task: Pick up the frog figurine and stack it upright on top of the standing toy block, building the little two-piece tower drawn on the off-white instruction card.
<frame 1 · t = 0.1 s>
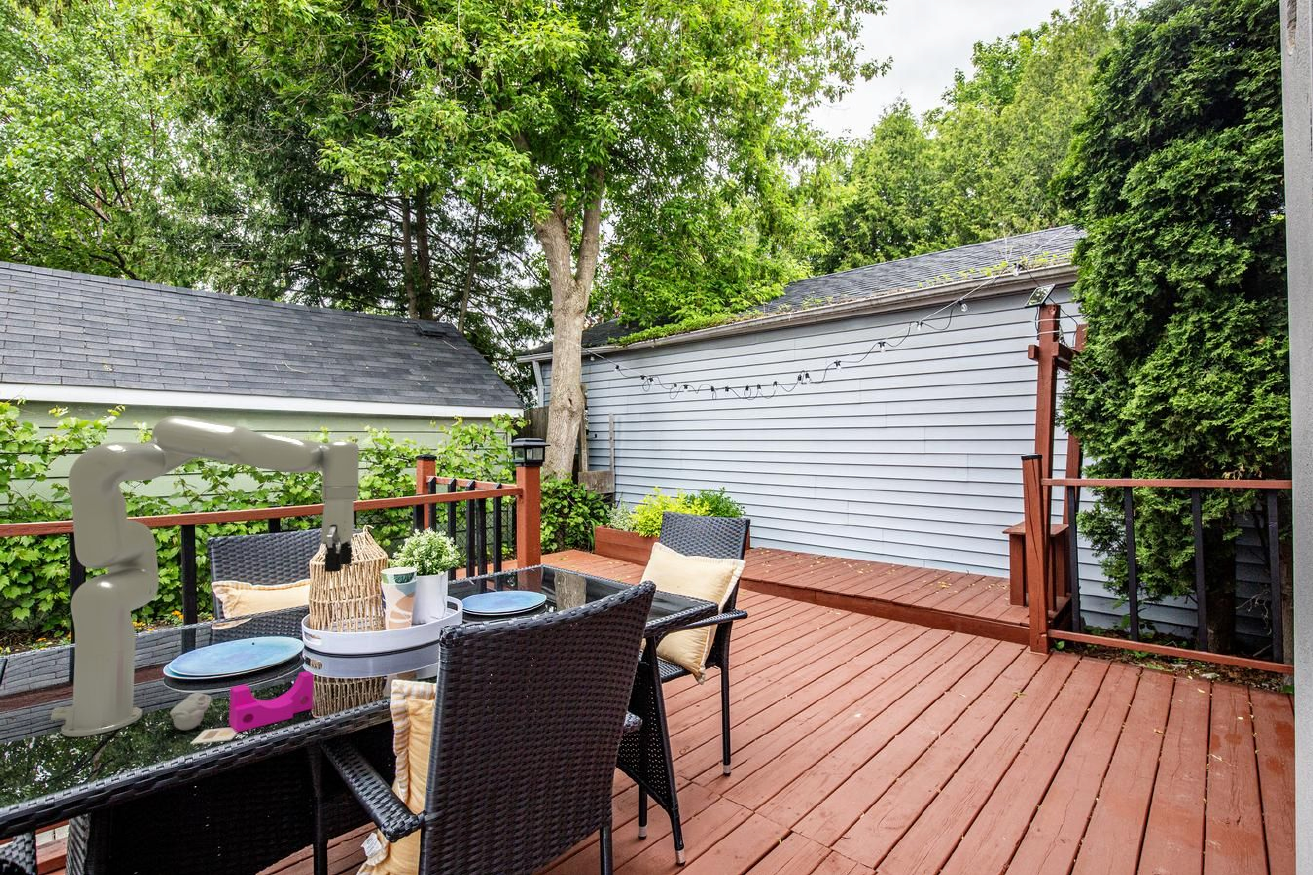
hand: (338, 567, 139), 31 cm above the table, tool pointing down, fingers open, 9 cm apart
toy block: (273, 718, 130), on the table, touching instruction card
instruction card: (217, 735, 122), on the table
frog figurine: (190, 729, 125), on the table
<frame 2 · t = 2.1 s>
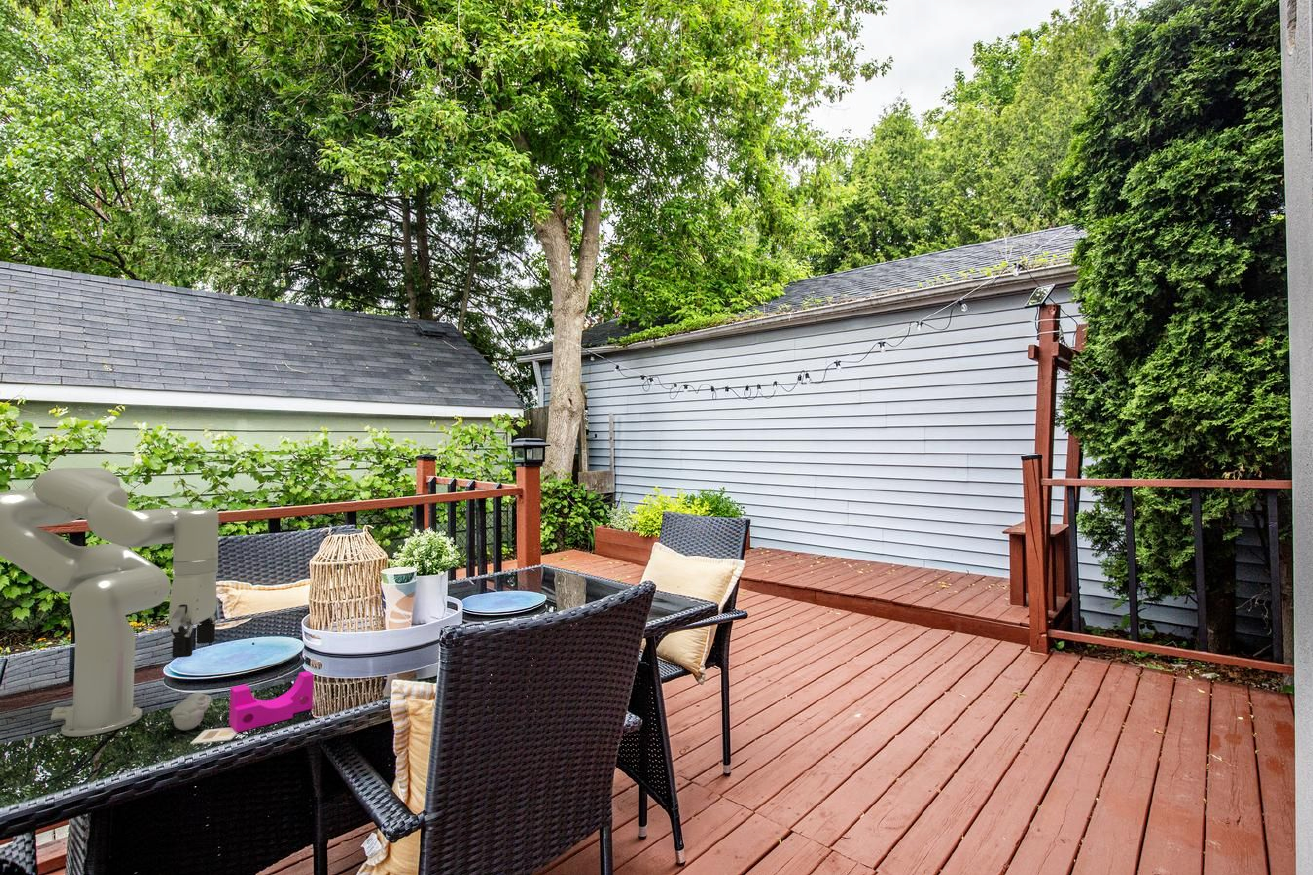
hand: (194, 649, 125), 16 cm above the table, tool pointing down, fingers open, 9 cm apart
nothing on the table moved.
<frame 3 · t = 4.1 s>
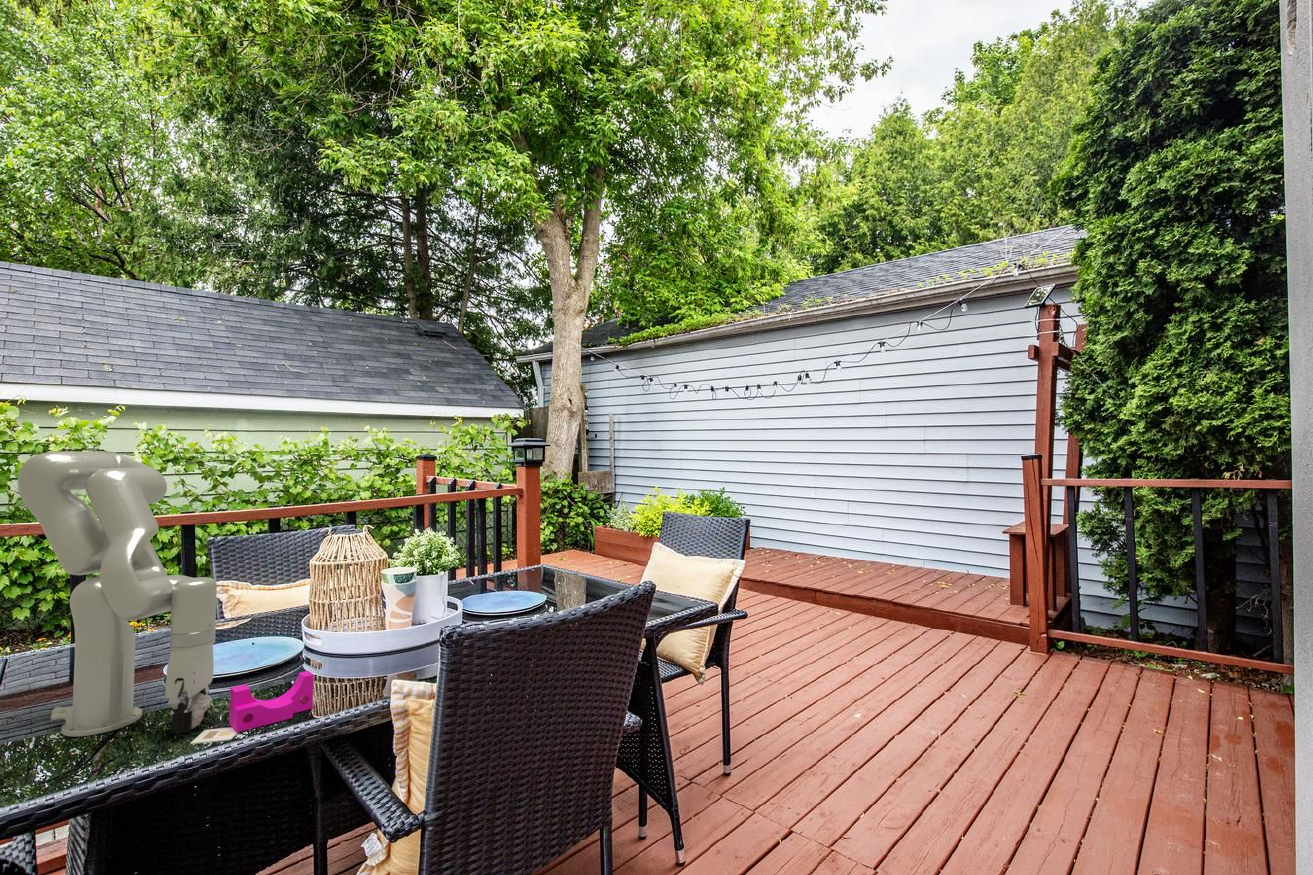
hand: (190, 723, 125), 1 cm above the table, tool pointing down, fingers closed on frog figurine, 6 cm apart
frog figurine: (190, 729, 125), on the table, touching gripper
everything else where it was.
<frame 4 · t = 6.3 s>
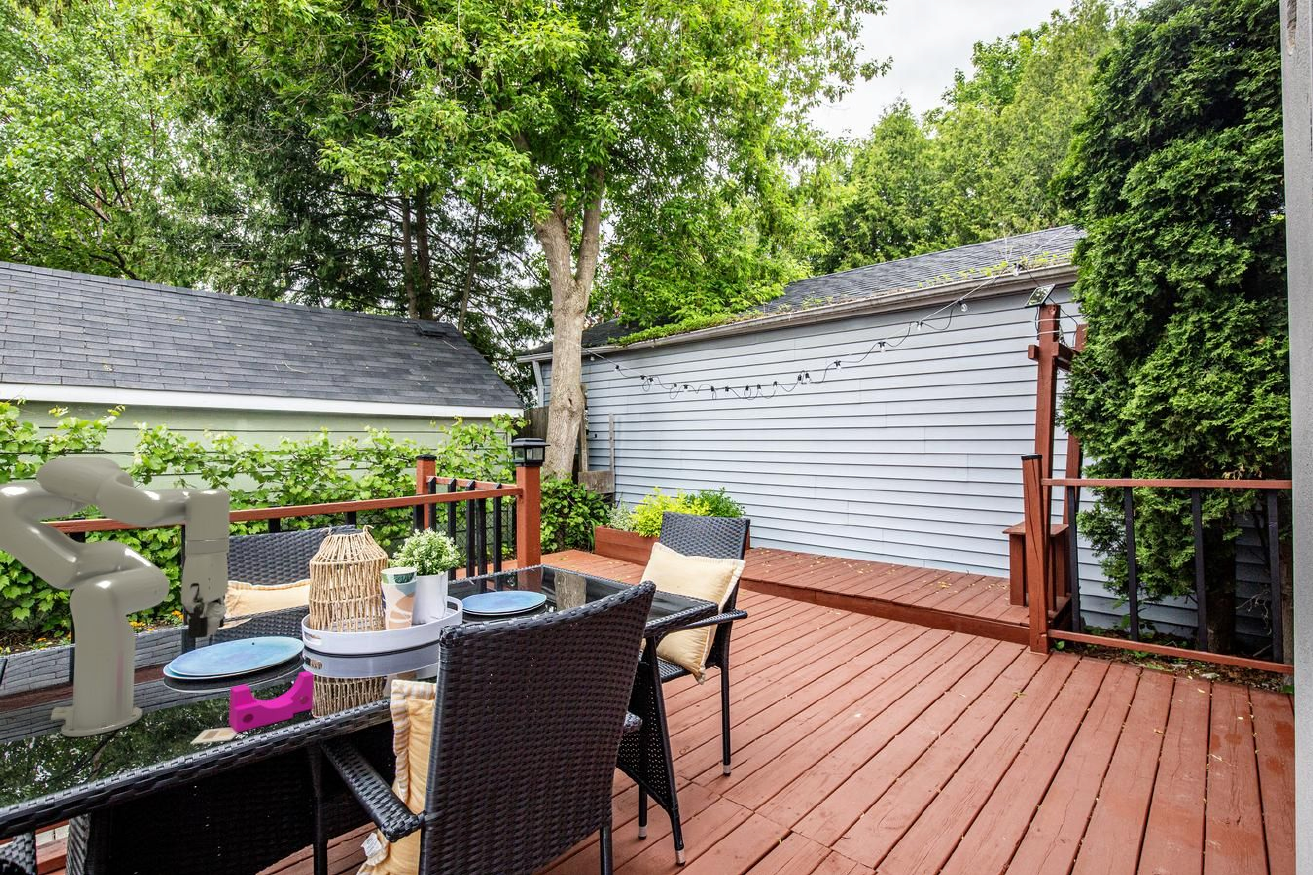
hand: (206, 631, 126), 20 cm above the table, tool pointing down, fingers closed on frog figurine, 6 cm apart
frog figurine: (206, 637, 126), point 19 cm above the table, touching gripper
everything else where it was.
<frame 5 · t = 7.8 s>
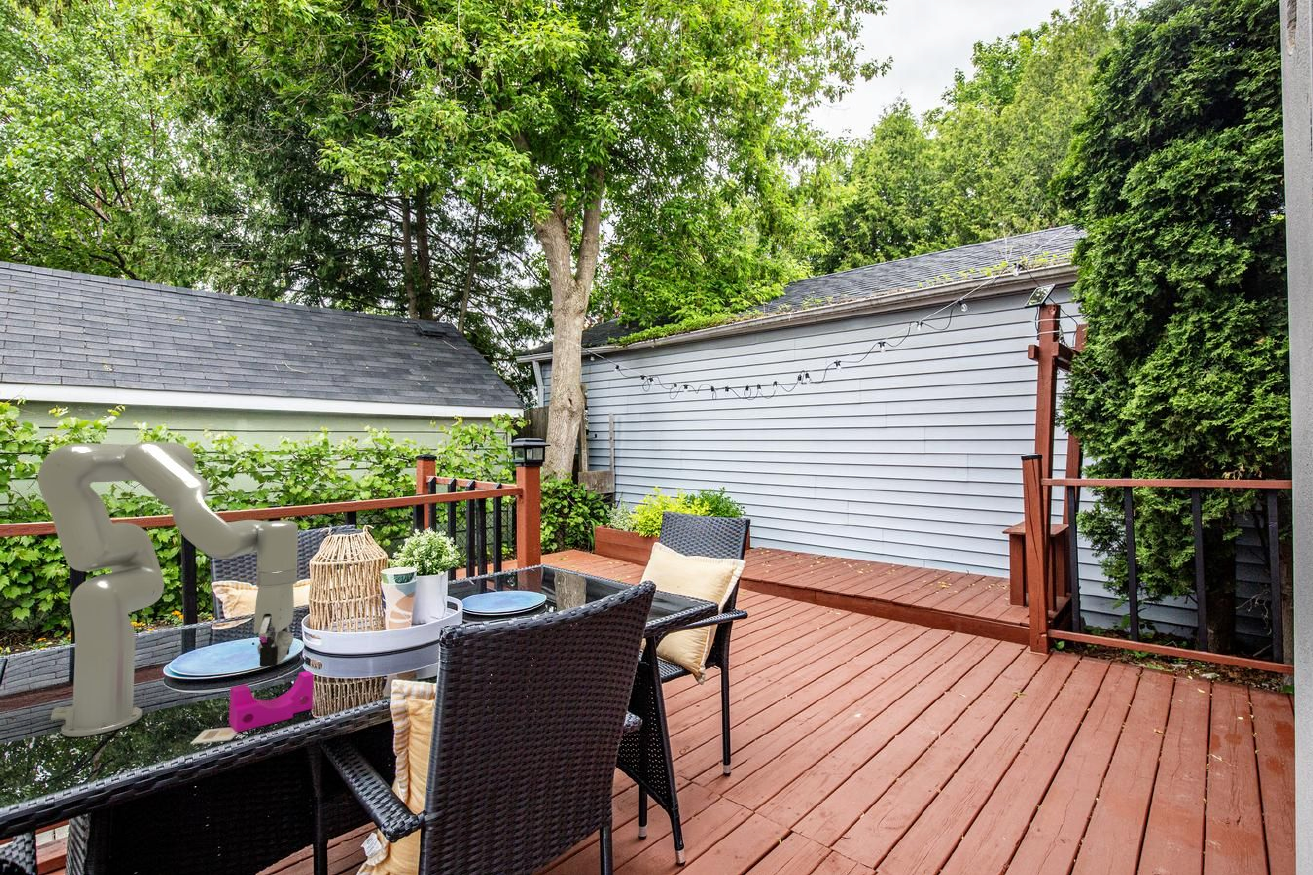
hand: (274, 659, 131), 13 cm above the table, tool pointing down, fingers closed on frog figurine, 6 cm apart
frog figurine: (274, 664, 131), point 11 cm above the table, touching gripper
everything else where it was.
when the fingers open (10 cm above the table, at t = 8.7 s): frog figurine drops 1 cm, resting on toy block.
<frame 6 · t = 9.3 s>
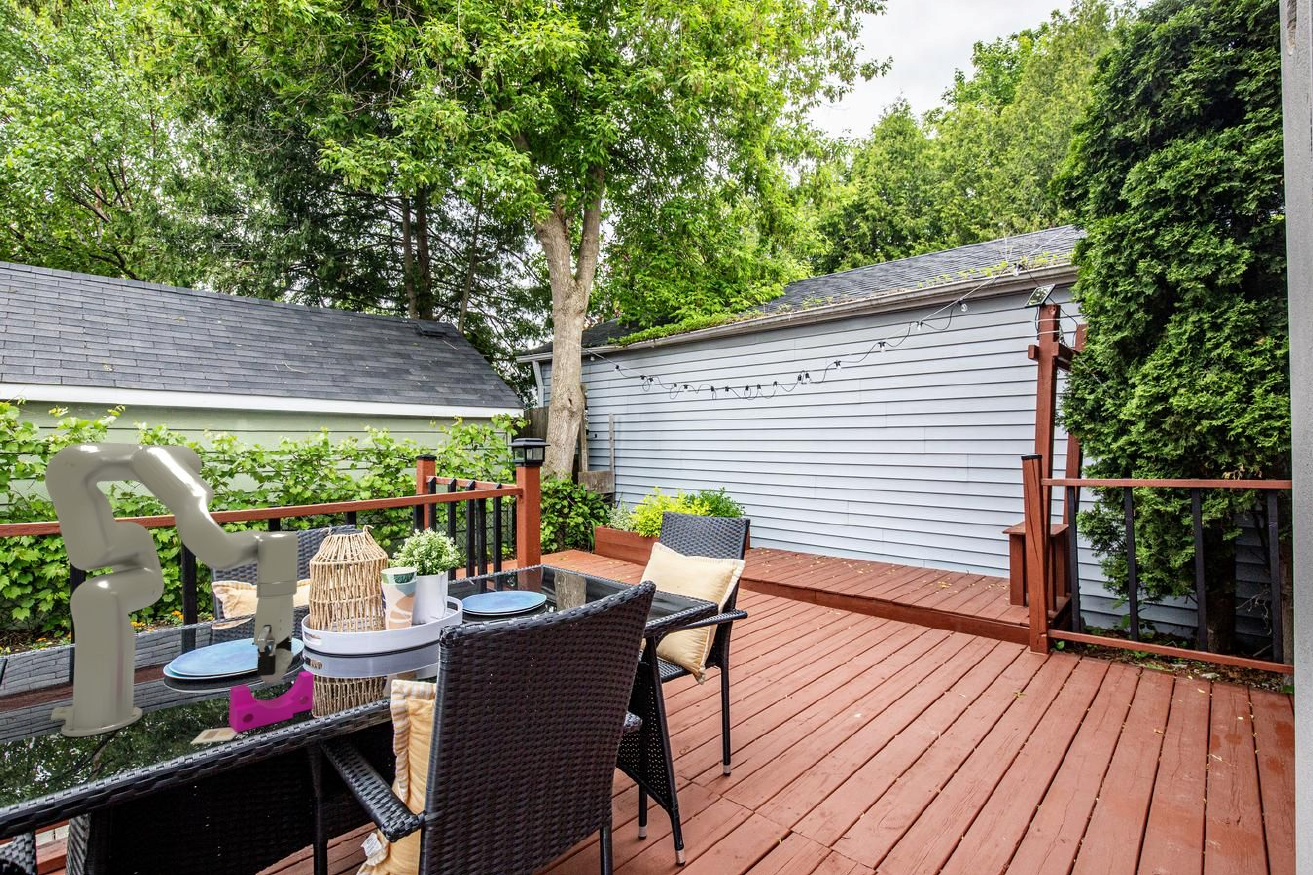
hand: (274, 667, 131), 11 cm above the table, tool pointing down, fingers open, 9 cm apart
toy block: (273, 718, 130), on the table, touching frog figurine, instruction card
frog figurine: (274, 683, 131), point 7 cm above the table, touching toy block
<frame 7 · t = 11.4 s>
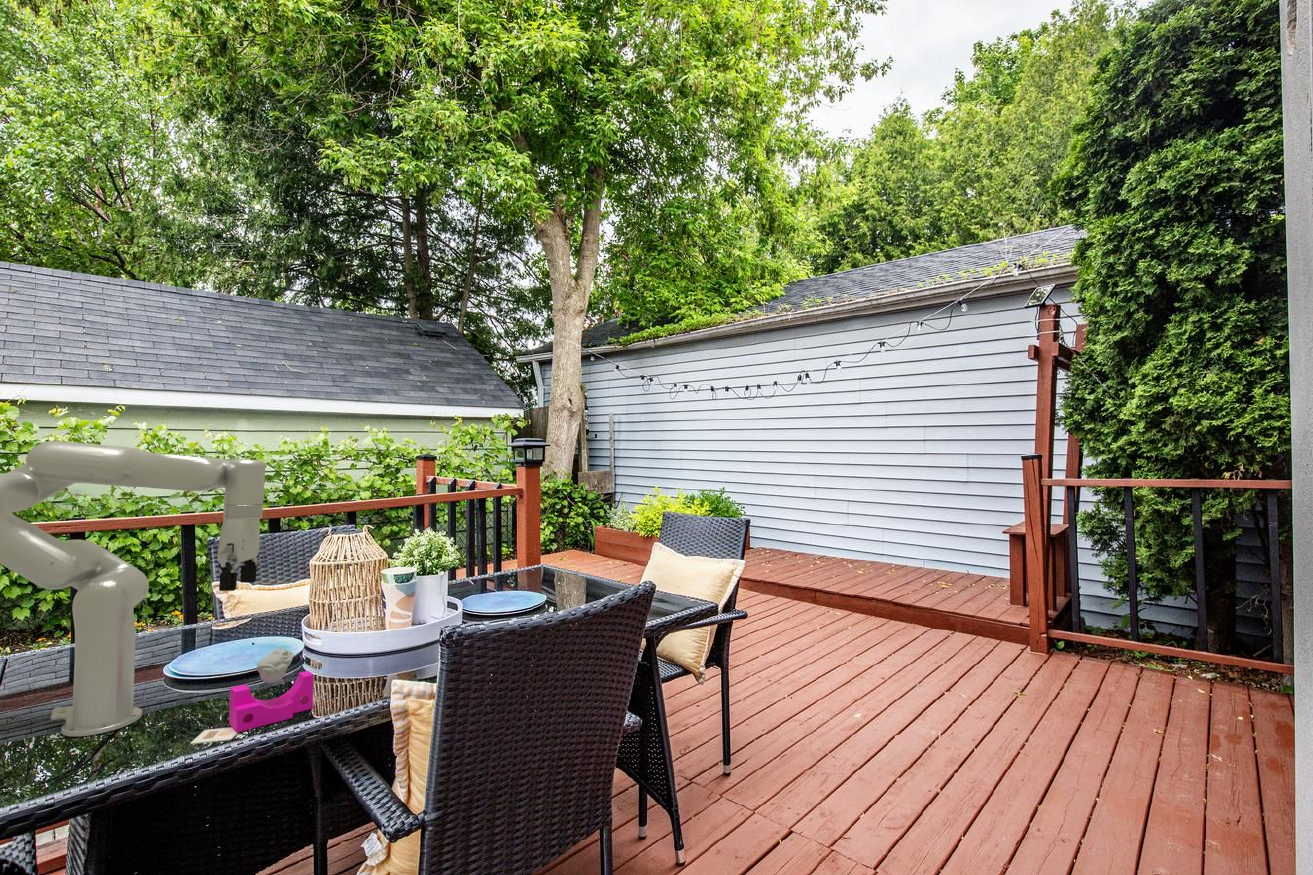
hand: (238, 586, 138), 27 cm above the table, tool pointing down, fingers open, 9 cm apart
nothing on the table moved.
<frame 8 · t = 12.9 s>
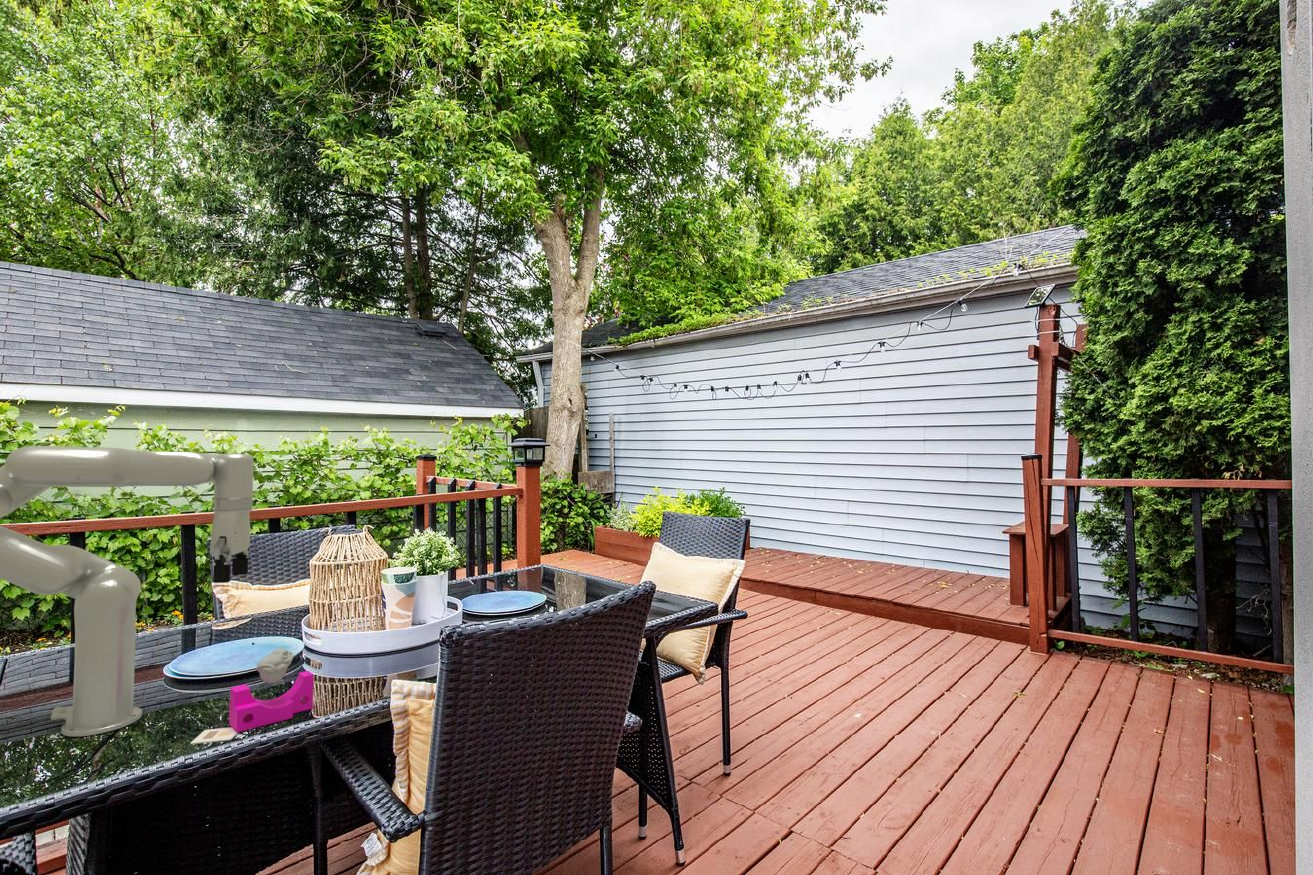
hand: (231, 578, 141), 28 cm above the table, tool pointing down, fingers open, 9 cm apart
nothing on the table moved.
at the end: frog figurine 0.3 cm off-centre on the toy block, point 7.5 cm above the toy block's base; frog figurine tilted 1°; the gripper is holding nothing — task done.
